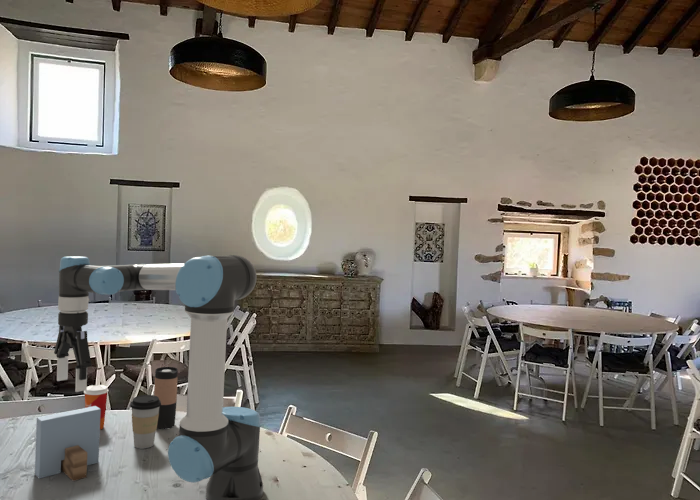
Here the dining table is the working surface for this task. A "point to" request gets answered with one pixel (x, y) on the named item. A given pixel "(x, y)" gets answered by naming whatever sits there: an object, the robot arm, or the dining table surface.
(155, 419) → the coffee cup
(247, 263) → the robot arm
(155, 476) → the dining table surface
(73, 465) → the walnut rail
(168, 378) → the travel mug
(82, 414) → the light blue slab
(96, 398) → the paper cup
